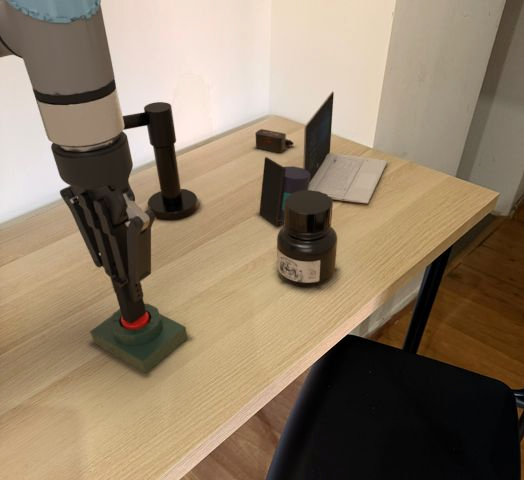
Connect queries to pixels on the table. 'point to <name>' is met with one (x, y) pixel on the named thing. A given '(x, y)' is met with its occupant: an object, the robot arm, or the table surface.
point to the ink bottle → (307, 240)
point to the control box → (140, 339)
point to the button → (136, 322)
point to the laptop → (337, 162)
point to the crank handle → (154, 123)
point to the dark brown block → (272, 140)
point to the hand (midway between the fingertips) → (134, 315)
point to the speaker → (280, 188)
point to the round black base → (170, 189)
